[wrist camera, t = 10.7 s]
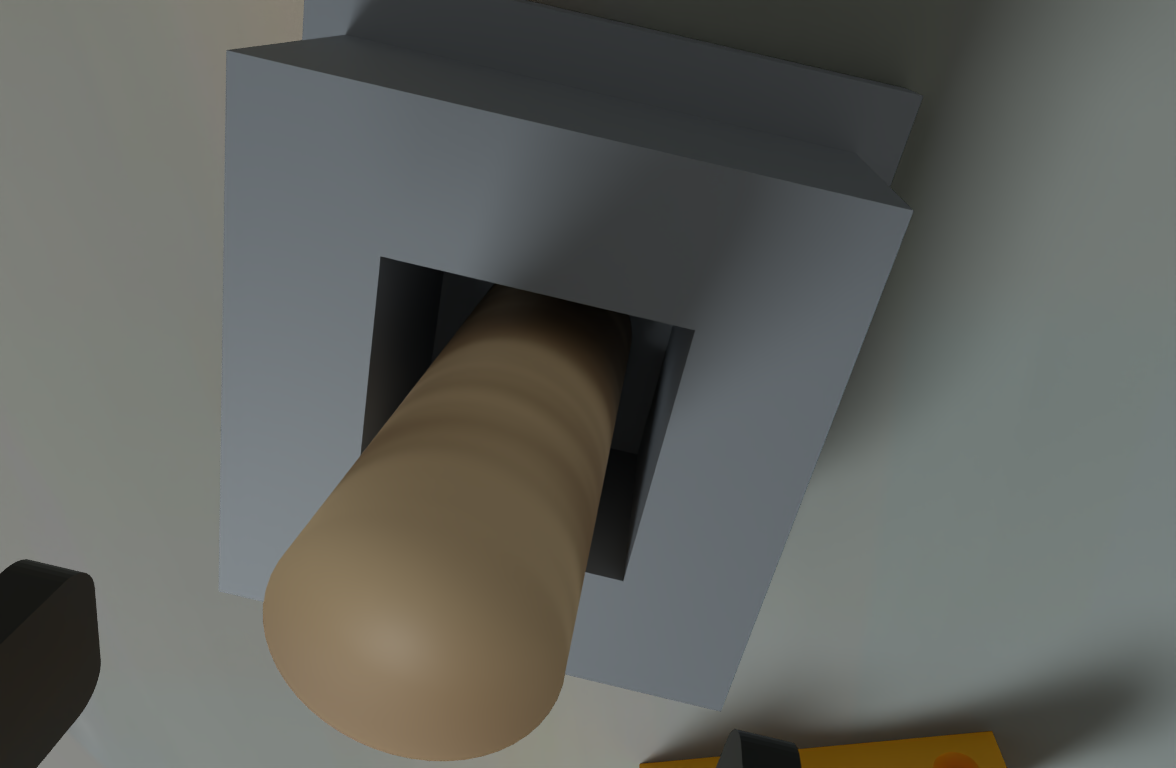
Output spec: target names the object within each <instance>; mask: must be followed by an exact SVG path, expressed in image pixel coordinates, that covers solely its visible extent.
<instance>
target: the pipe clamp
mask: <svg viewBox="0 0 1176 768" xmlns="http://www.w3.org/2000/svg"><path fill="white" fill-rule="evenodd" d="M798 751H799V755H800V760H801V767H802V768H1007V767H1006V764H1005V762H1004V759H1003V757H1002V754H1001V752H1000V749H999V747H998V745H997V742H996V740H995V737H994V735H993V732H992V731H987V732H976V733H965V734H955V735H944V736H933V737H922V738H912V739H901V740H890V741H880V742H869V743H858V744H847V745H837V746H826V747H815V748H805V749H798ZM719 759H720V756H719V757H708V758H697V759H687V760H676V761H665V762H654V763H644V764H640V766H639V768H716V766H717V764H718V761H719Z"/></svg>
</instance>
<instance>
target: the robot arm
mask: <svg viewBox="0 0 1176 768" xmlns="http://www.w3.org/2000/svg"><path fill="white" fill-rule="evenodd" d="M100 666H101V659H100V647H99V634H98V622H97V610H96V598H95V587H94V582H93V579H92V578H91V576H90V575H88V574H87V573H83V572H79V571H74V570H70V569H66V568H62V567H57V566H53V565H49V564H45V563H41V562H36V561H32V560H27V559H25V560H20V561H17V562H15V563H13V564H12V565H10V566H9V567H8V568H6V569H5V570H4V571H3V572H2V573H0V768H37V767H38V765H39V764H40V763H41V762H42V761H43V759H44V758H45V757H46V756H47V754H48V753H49V752H50V751H51V750H52V748H53V747H54V746H55V745H56V743H57V742H58V741H59V740H60V739H61V738H62V736H63V735H64V734H65V733H66V731H67V730H68V729H69V728H70V727H71V725H72V724H73V723H74V722H75V721H76V719H77V718H78V717H79V716H80V714H81V713H82V712H83V710H84V708H85V707H86V705H87V704H88V702H89V700H90V698H91V696H92V694H93V692H94V689H95V687H96V684H97V681H98V677H99V673H100ZM716 768H802V767H801V760H800V755H799V751H798V748H797V746H796V745H795V744H794V743H791V742H787V741H783V740H779V739H774V738H770V737H766V736H762V735H758V734H753V733H749V732H745V731H741V730H736V729H734V730H733V731H732V732H731V733H730V735H729V737H728V739H727V741H726V744H725V746H724V749H723V751H722V754H721V756H720V759H719V761H718V764H717V766H716Z"/></svg>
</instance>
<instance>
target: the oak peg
mask: <svg viewBox="0 0 1176 768" xmlns="http://www.w3.org/2000/svg"><path fill="white" fill-rule="evenodd" d="M631 340H632V329H631V321H630V317H629V315H628V314H623V313H619V312H615V311H611V310H606V309H602V308H598V307H594V306H589V305H585V304H581V303H577V302H573V301H568V300H564V299H560V298H556V297H551V296H547V295H543V294H539V293H534V292H530V291H526V290H522V289H517V288H513V287H509V286H505V285H500V284H496V283H494V285H493V286H492V287H491V288H490V290H489V291H488V292H487V293H486V295H485V296H484V297H483V299H482V300H481V301H480V302H479V304H478V305H477V306H476V308H475V309H474V310H473V311H472V313H471V314H470V315H469V317H468V318H467V319H466V320H465V322H464V323H463V324H462V326H461V327H460V328H459V329H458V331H457V332H456V333H455V335H454V336H453V337H452V338H451V340H450V341H449V342H448V344H447V345H446V346H445V347H444V349H443V350H442V351H441V353H440V354H439V355H438V356H437V358H436V359H435V360H434V362H433V363H432V364H431V365H430V367H429V368H428V369H427V371H426V372H425V373H424V375H423V376H422V377H421V378H420V380H419V381H418V382H417V384H416V385H415V386H414V387H413V389H412V390H411V391H410V393H409V394H408V395H407V396H406V398H405V399H404V400H403V402H402V403H401V404H400V405H399V407H398V408H397V409H396V411H395V412H394V413H393V414H392V416H391V417H390V418H389V420H388V421H387V422H386V423H385V425H384V426H383V427H382V429H381V430H380V431H379V432H378V434H377V435H376V436H375V438H374V439H373V440H372V441H371V443H370V444H369V445H368V447H367V448H366V449H365V450H364V452H363V453H362V454H361V456H360V457H359V458H358V459H357V461H356V462H355V463H354V465H353V466H352V467H351V468H350V470H349V471H348V472H347V474H346V475H345V476H344V477H343V479H342V480H341V481H340V483H339V484H338V485H337V486H336V488H335V489H334V490H333V492H332V493H331V494H330V495H329V497H328V498H327V499H326V501H325V502H324V503H323V504H322V506H321V507H320V508H319V510H318V511H317V512H316V513H315V515H314V516H313V517H312V519H311V520H310V521H309V522H308V524H307V525H306V526H305V528H304V529H303V530H302V531H301V533H300V534H299V535H298V537H297V538H296V539H295V540H294V542H293V543H292V544H291V546H290V547H289V548H288V549H287V551H286V552H285V553H284V555H283V556H282V557H281V558H280V560H279V561H278V563H277V565H276V567H275V568H274V570H273V572H272V574H271V576H270V579H269V582H268V584H267V587H266V591H265V597H264V603H263V624H264V631H265V637H266V640H267V644H268V647H269V650H270V653H271V655H272V658H273V660H274V662H275V664H276V666H277V669H278V670H279V672H280V673H281V675H282V677H283V678H284V680H285V681H286V683H287V684H288V686H289V687H290V688H291V689H292V691H293V692H294V693H295V694H296V696H297V697H298V698H299V699H300V700H301V701H302V702H303V703H304V704H305V705H306V706H307V707H308V708H309V709H310V710H311V711H312V712H313V713H315V714H316V715H317V716H318V717H319V718H321V719H322V720H323V721H324V722H326V723H327V724H329V725H330V726H332V727H333V728H335V729H336V730H338V731H339V732H341V733H342V734H344V735H346V736H348V737H350V738H352V739H354V740H355V741H357V742H360V743H362V744H364V745H367V746H369V747H371V748H374V749H377V750H380V751H383V752H386V753H389V754H392V755H397V756H402V757H406V758H411V759H419V760H427V761H455V760H466V759H471V758H476V757H481V756H485V755H488V754H491V753H494V752H497V751H500V750H502V749H504V748H506V747H508V746H511V745H513V744H515V743H516V742H518V741H519V740H521V739H522V738H524V737H525V736H527V735H528V734H529V733H530V732H532V731H533V730H534V729H535V728H536V727H537V726H538V725H540V723H541V722H542V721H543V720H544V719H545V717H546V716H547V715H548V714H549V712H550V711H551V709H552V707H553V706H554V704H555V702H556V701H557V699H558V696H559V693H560V691H561V688H562V685H563V681H564V676H565V671H566V666H567V661H568V656H569V651H570V646H571V641H572V636H573V631H574V626H575V621H576V616H577V611H578V606H579V601H580V596H581V591H582V586H583V581H584V576H585V571H586V566H587V561H588V556H589V551H590V546H591V541H592V537H593V532H594V527H595V522H596V517H597V512H598V507H599V502H600V497H601V492H602V487H603V482H604V477H605V472H606V467H607V462H608V457H609V452H610V447H611V442H612V437H613V432H614V427H615V422H616V417H617V412H618V407H619V402H620V397H621V392H622V387H623V382H624V377H625V372H626V367H627V362H628V357H629V352H630V347H631Z"/></svg>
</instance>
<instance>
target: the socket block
mask: <svg viewBox="0 0 1176 768" xmlns="http://www.w3.org/2000/svg"><path fill="white" fill-rule="evenodd" d="M922 99H923V96H922V95H920V94H918V93H916V92H914V91H911V90H909V89H906V88H902V87H898V86H894V85H889V84H885V83H881V82H876V81H872V80H868V79H863V78H859V77H855V76H850V75H846V74H842V73H838V72H833V71H829V70H825V69H820V68H816V67H812V66H807V65H803V64H799V63H794V62H790V61H786V60H782V59H777V58H773V57H769V56H764V55H760V54H756V53H751V52H747V51H743V50H738V49H734V48H730V47H726V46H721V45H717V44H713V43H708V42H704V41H700V40H695V39H691V38H687V37H682V36H678V35H674V34H670V33H665V32H661V31H657V30H652V29H648V28H644V27H639V26H635V25H631V24H626V23H622V22H618V21H614V20H609V19H605V18H601V17H596V16H592V15H588V14H583V13H579V12H575V11H570V10H566V9H562V8H558V7H553V6H549V5H545V4H540V3H536V2H532V1H527V0H304V18H303V37H302V40H301V41H293V42H285V43H278V44H270V45H263V46H255V47H247V48H240V49H232V50H227V52H226V122H225V191H224V260H223V330H222V399H221V469H220V538H219V591H220V592H224V593H229V594H233V595H237V596H241V597H245V598H249V599H254V600H258V601H262V602H264V597H265V591H266V587H267V584H268V582H269V579H270V576H271V574H272V572H273V570H274V568H275V567H276V565H277V563H278V561H279V560H280V558H281V557H282V556H283V555H284V553H285V552H286V551H287V549H288V548H289V547H290V546H291V544H292V543H293V542H294V540H295V539H296V538H297V537H298V535H299V534H300V533H301V531H302V530H303V529H304V528H305V526H306V525H307V524H308V522H309V521H310V520H311V519H312V517H313V516H314V515H315V513H316V512H317V511H318V510H319V508H320V507H321V506H322V504H323V503H324V502H325V501H326V499H327V498H328V497H329V495H330V494H331V493H332V492H333V490H334V489H335V488H336V486H337V485H338V484H339V483H340V481H341V480H342V479H343V477H344V476H345V475H346V474H347V472H348V471H349V470H350V468H351V467H352V466H353V465H354V463H355V462H356V461H357V459H358V458H359V457H360V456H361V454H362V453H363V452H364V450H365V449H366V448H367V447H368V445H369V444H370V443H371V441H372V440H373V439H374V438H375V436H376V435H377V434H378V432H379V431H380V430H381V429H382V427H383V426H384V425H385V423H386V422H387V421H388V420H389V418H390V417H391V416H392V414H393V413H394V412H395V411H396V409H397V408H398V407H399V405H400V404H401V403H402V402H403V400H404V399H405V398H406V396H407V395H408V394H409V393H410V391H411V390H412V389H413V387H414V386H415V385H416V384H417V382H418V381H419V380H420V378H421V377H422V376H423V375H424V373H425V372H426V371H427V369H428V368H429V367H430V365H431V364H432V363H433V362H434V360H435V359H436V358H437V356H438V355H439V354H440V353H441V351H442V350H443V349H444V347H445V346H446V345H447V344H448V342H449V341H450V340H451V338H452V337H453V336H454V335H455V333H456V332H457V331H458V329H459V328H460V327H461V326H462V324H463V323H464V322H465V320H466V319H467V318H468V317H469V315H470V314H471V313H472V311H473V310H474V309H475V308H476V306H477V305H478V304H479V302H480V301H481V300H482V299H483V297H484V296H485V295H486V293H487V292H488V291H489V290H490V288H491V287H492V286H493V285H494V283H496V284H500V285H505V286H509V287H513V288H517V289H522V290H526V291H530V292H534V293H539V294H543V295H547V296H551V297H556V298H560V299H564V300H568V301H573V302H577V303H581V304H585V305H589V306H594V307H598V308H602V309H606V310H611V311H615V312H619V313H623V314H628V315H629V317H630V321H631V329H632V340H631V347H630V352H629V357H628V362H627V367H626V372H625V377H624V382H623V387H622V392H621V397H620V402H619V407H618V412H617V417H616V422H615V427H614V432H613V437H612V442H611V447H610V452H609V457H608V462H607V467H606V472H605V477H604V482H603V487H602V492H601V497H600V502H599V507H598V512H597V517H596V522H595V527H594V532H593V537H592V541H591V546H590V551H589V556H588V561H587V566H586V571H585V576H584V581H583V586H582V591H581V596H580V601H579V606H578V611H577V616H576V621H575V626H574V631H573V636H572V641H571V646H570V651H569V656H568V661H567V666H566V671H565V674H566V675H570V676H574V677H579V678H583V679H587V680H591V681H595V682H599V683H604V684H608V685H612V686H616V687H620V688H624V689H629V690H633V691H637V692H641V693H645V694H649V695H654V696H658V697H662V698H666V699H670V700H674V701H679V702H683V703H687V704H691V705H695V706H699V707H704V708H708V709H712V710H716V711H720V712H721V710H722V707H723V705H724V702H725V700H726V697H727V694H728V692H729V689H730V687H731V684H732V681H733V679H734V676H735V674H736V671H737V668H738V666H739V663H740V661H741V658H742V655H743V653H744V650H745V648H746V645H747V642H748V640H749V637H750V635H751V632H752V629H753V627H754V624H755V622H756V619H757V616H758V614H759V611H760V609H761V606H762V603H763V601H764V598H765V596H766V593H767V590H768V588H769V585H770V583H771V580H772V577H773V575H774V572H775V570H776V567H777V564H778V562H779V559H780V557H781V554H782V551H783V549H784V546H785V544H786V541H787V539H788V536H789V533H790V531H791V528H792V526H793V523H794V520H795V518H796V515H797V513H798V510H799V507H800V505H801V502H802V500H803V497H804V494H805V492H806V489H807V487H808V484H809V481H810V479H811V476H812V474H813V471H814V468H815V466H816V463H817V461H818V458H819V455H820V453H821V450H822V448H823V445H824V442H825V440H826V437H827V435H828V432H829V429H830V427H831V424H832V422H833V419H834V416H835V414H836V411H837V409H838V406H839V403H840V401H841V398H842V396H843V393H844V390H845V388H846V385H847V383H848V380H849V378H850V375H851V372H852V370H853V367H854V365H855V362H856V359H857V357H858V354H859V352H860V349H861V346H862V344H863V341H864V339H865V336H866V333H867V331H868V328H869V326H870V323H871V320H872V318H873V315H874V313H875V310H876V307H877V305H878V302H879V300H880V297H881V294H882V292H883V289H884V287H885V284H886V281H887V279H888V276H889V274H890V271H891V268H892V266H893V263H894V261H895V258H896V255H897V253H898V250H899V248H900V245H901V242H902V240H903V237H904V235H905V232H906V229H907V227H908V224H909V222H910V219H911V216H912V214H913V211H914V210H912V209H911V208H910V207H909V206H908V205H907V204H906V203H905V202H904V201H903V200H902V199H901V198H900V197H899V196H898V195H897V194H896V193H895V192H894V191H893V190H892V189H891V188H890V186H891V183H892V180H893V178H894V175H895V172H896V169H897V167H898V164H899V161H900V159H901V156H902V153H903V150H904V148H905V145H906V142H907V139H908V137H909V134H910V131H911V129H912V126H913V123H914V120H915V118H916V115H917V112H918V110H919V107H920V104H921V101H922Z"/></svg>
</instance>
